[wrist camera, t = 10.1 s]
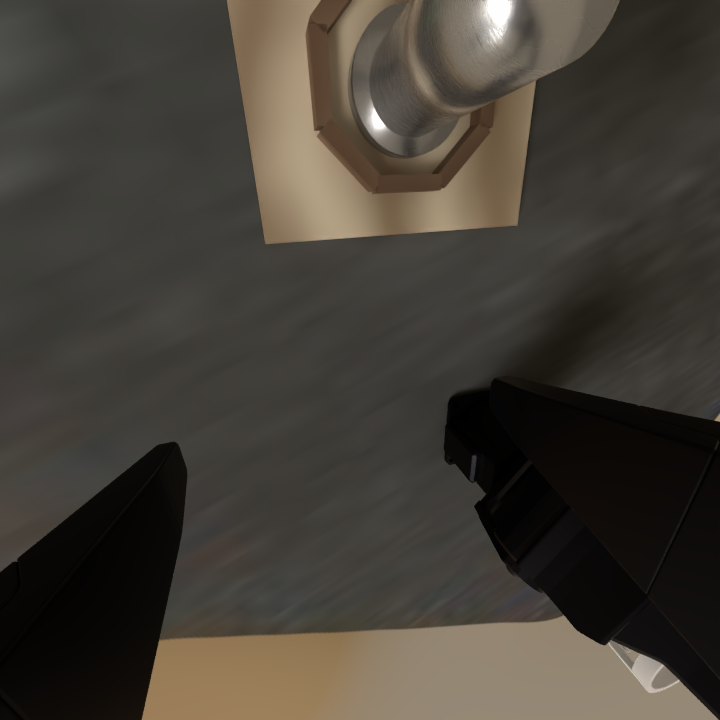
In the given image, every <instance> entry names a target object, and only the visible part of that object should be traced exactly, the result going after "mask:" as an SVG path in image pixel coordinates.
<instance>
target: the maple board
mask: <svg viewBox="0 0 720 720" xmlns="http://www.w3.org/2000/svg"><path fill="white" fill-rule="evenodd" d="M407 1H410V0H227V4H228V11H229V17H230V23H231V29H232V36H233V42H234V48H235V55H236V61H237V67H238V74H239V80H240V86H241V93H242V99H243V105H244V112H245V118H246V124H247V131H248V137H249V143H250V150H251V156H252V162H253V169H254V175H255V181H256V188H257V194H258V200H259V207H260V213H261V219H262V226H263V232H264V238H265V244H273V243H286V242H300V241H313V240H327V239H340V238H354V237H367V236H381V235H394V234H408V233H421V232H435V231H448V230H462V229H475V228H488V227H502V226H515V225H517V223H518V215H519V208H520V200H521V192H522V184H523V177H524V169H525V161H526V154H527V146H528V138H529V131H530V123H531V115H532V107H533V100H534V92H535V84H536V81H534V82H532V83H529V84H527V85H525V86H523V87H521V88H519V89H517V90H515V91H513V92H511V93H509V94H507V95H505V96H503V97H501V98H499V99H497V100H495V101H493V102H491V103H489V104H487V105H485V106H483V107H481V108H479V109H477V110H475V111H473V112H471V113H469V114H467V115H465V116H463V117H461V118H459V120H458V123H457V124H456V126H455V128H454V130H453V131H452V133H451V134H450V135H449V137H448V138H447V139H446V140H445V141H444V142H443V143H442V144H441V145H439V146H438V147H437V148H435V149H434V150H432V151H430V152H428V153H425V154H423V155H420V156H418V157H414V158H409V159H397V158H392V157H389V156H387V155H384V154H383V153H381V152H379V151H378V150H376V149H375V148H374V147H373V146H372V145H371V144H370V143H369V142H368V141H367V140H366V139H365V138H364V136H363V135H362V134H361V132H360V130H359V128H358V127H357V125H356V122H355V120H354V118H353V115H352V112H351V108H350V103H349V98H348V71H349V66H350V61H351V58H352V55H353V52H354V49H355V47H356V45H357V43H358V41H359V39H360V38H361V36H362V34H363V32H364V31H365V29H366V28H367V26H368V24H369V23H370V22H371V21H372V20H373V18H374V17H375V16H376V15H377V14H379V13H380V12H381V11H382V10H384V9H385V8H387V7H388V6H391V5H393V4H396V3H400V2H407Z"/></svg>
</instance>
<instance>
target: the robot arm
mask: <svg viewBox="0 0 720 720" xmlns="http://www.w3.org/2000/svg"><path fill="white" fill-rule="evenodd" d="M455 403H456V405H455V406H454V404H455ZM444 450H445V461H446V462H447V463H448V464H449V465H452V464H456V465H457V466H458V468H459V469H460V470H461V471H462V473H463V474H464V475H465V476H466V478H467V479H468V480H469V481H470V482H472V483H474V482H476V483H477V484H478V485H479V486H480V487H481V489H482V490H483V491H484V492H485V493H486V495H485V496H484V498H483V499H482V500H481V501H478V502H477V503H476V505H475V506H474V507H475V509H476V511H477V513H478V515H479V518H480V520H481V522H482V524H483V526H484V528H485V530H486V531H487V533H488V535H489V537H490V539H491V541H492V543H493V545H494V547H495V548H496V550H497V552H498V554H499V556H500V558H501V560H502V561H503V562H504V563H505V564H506V567H507V569H508V571H509V572H510V573H511V574H512V575H513V576H515V577H520V578H521V579H522V580H523V581H524V582H526V583H527V584H528V585H529V586H530V587H532V588H533V589H535V590H536V591H538V592H540V593H546V594H547V596H548V597H549V598H550V599H551V600H552V601H553V603H554V604H555V605H556V606H557V607H558V608H559V610H560V611H561V612H562V613H563V614H564V616H565V617H566V618H567V619H568V620H569V622H570V623H571V624H572V625H573V626H574V628H575V629H576V630H577V631H579V632H580V633H582V634H584V635H585V636H587V637H589V638H590V639H592V640H594V641H596V642H598V643H599V644H602V645H606V644H607V643H608V642H609V641H611V640H612V641H614V642H616V643H618V644H620V645H623V646H625V647H627V648H629V649H632V650H634V651H636V652H638V653H640V654H642V655H644V656H647V657H649V658H651V659H653V660H655V661H658V662H660V663H661V664H663V665H664V666H665V667H666V668H667V669H668V670H669V671H670V672H671V673H672V674H674V675H675V676H676V677H677V678H678V679H679V680H680V681H681V682H682V683H683V684H684V685H685V686H686V687H687V688H688V689H689V690H690V691H691V692H692V693H693V694H694V695H695V696H696V697H697V698H698V699H699V700H700V701H701V702H702V703H703V704H704V705H705V706H706V707H707V708H708V709H709V710H710V711H711V712H712V713H713V714H714V715H715V716H716V717H717V718H718V719H719V720H720V422H718V421H713V420H708V419H703V418H698V417H692V416H687V415H682V414H677V413H673V412H668V411H663V410H658V409H654V408H649V407H645V406H638V405H635V404H631V403H626V402H622V401H617V400H613V399H608V398H604V397H599V396H594V395H590V394H585V393H581V392H576V391H572V390H567V389H563V388H558V387H554V386H549V385H544V384H540V383H535V382H531V381H526V380H522V379H517V378H513V377H508V376H503V377H498V378H495V379H493V381H492V383H491V391H486V392H481V393H476V394H471V395H466V396H461V397H456V398H453V399H451V400H450V401H449V402H448V412H447V424H446V426H445V441H444ZM186 485H187V468H186V465H185V462H184V459H183V456H182V453H181V450H180V447H179V445H178V444H177V443H176V442H169V443H164V444H159V445H157V446H156V447H154V448H153V449H152V450H151V451H150V452H148V453H147V454H146V455H145V456H143V457H142V458H141V459H140V460H138V461H137V462H136V463H135V464H133V465H132V466H131V467H130V468H129V469H127V470H126V471H125V472H124V473H122V474H121V475H120V476H119V477H117V478H116V479H115V480H114V481H112V482H111V483H110V484H109V485H108V486H106V487H105V488H104V489H103V490H101V491H100V492H99V493H98V494H96V495H95V496H94V497H93V498H91V499H90V500H89V501H88V502H87V503H85V504H84V505H83V506H82V507H80V508H79V509H78V510H77V511H75V512H74V513H73V514H72V515H70V516H69V517H68V518H67V519H65V520H64V521H63V522H62V523H61V524H59V525H58V526H57V527H56V528H54V529H53V530H52V531H51V532H49V533H48V534H47V535H46V536H44V537H43V538H42V539H41V540H40V541H38V542H37V543H36V544H35V545H33V546H32V547H31V548H30V549H28V550H27V551H26V552H25V553H23V554H22V555H21V556H20V557H19V558H18V559H17V562H12V563H11V564H10V565H8V566H7V567H6V568H5V569H4V570H2V571H1V572H0V720H142V716H143V711H144V707H145V702H146V697H147V693H148V688H149V684H150V679H151V674H152V669H153V665H154V660H155V656H156V651H157V647H158V642H159V638H160V633H161V628H162V624H163V619H164V615H165V610H166V606H167V601H168V596H169V592H170V587H171V583H172V578H173V573H174V569H175V564H176V560H177V555H178V550H179V546H180V541H181V535H182V528H183V518H184V507H185V496H186Z"/></svg>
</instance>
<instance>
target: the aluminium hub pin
mask: <svg viewBox="0 0 720 720" xmlns="http://www.w3.org/2000/svg"><path fill="white" fill-rule="evenodd" d="M619 2H620V0H410V1H407V2H400V3H396V4H393V5H391V6H388V7H387V8H385V9H384V10H382V11H381V12H380V13H379V14H377V15H376V16H375V17H374V18H373V20H372V21H371V22H370V23H369V24H368V26H367V28H366V29H365V31H364V32H363V34H362V36H361V38H360V39H359V41H358V43H357V45H356V47H355V49H354V52H353V55H352V58H351V61H350V66H349V71H348V98H349V103H350V108H351V112H352V115H353V118H354V120H355V122H356V125H357V127H358V128H359V130H360V132H361V134H362V135H363V136H364V138H365V139H366V140H367V141H368V142H369V143H370V144H371V145H372V146H373V147H374V148H375V149H376V150H378V151H379V152H381V153H383V154H384V155H387V156H389V157H392V158H397V159H409V158H414V157H418V156H420V155H423V154H425V153H428V152H430V151H432V150H434V149H435V148H437V147H438V146H439V145H441V144H442V143H443V142H444V141H445V140H446V139H447V138H448V137H449V135H450V134H451V133H452V131H453V130H454V128H455V126H456V124H457V123H458V120H459V118H461V117H463V116H465V115H467V114H469V113H471V112H473V111H475V110H477V109H479V108H481V107H483V106H485V105H487V104H489V103H491V102H493V101H495V100H497V99H499V98H501V97H503V96H505V95H507V94H509V93H511V92H513V91H515V90H517V89H519V88H521V87H523V86H525V85H527V84H529V83H532V82H534V81H536V80H538V79H540V78H542V77H544V76H546V75H548V74H550V73H552V72H554V71H556V70H558V69H560V68H562V67H564V66H566V65H568V64H570V63H572V62H574V61H575V60H577V59H578V58H580V57H581V56H582V55H584V54H585V53H586V52H587V51H588V50H589V49H590V48H591V47H592V46H593V45H594V44H595V43H596V42H597V40H598V39H599V38H600V36H601V35H602V34H603V32H604V31H605V29H606V28H607V26H608V24H609V23H610V21H611V19H612V17H613V15H614V13H615V11H616V9H617V7H618V4H619Z"/></svg>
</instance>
